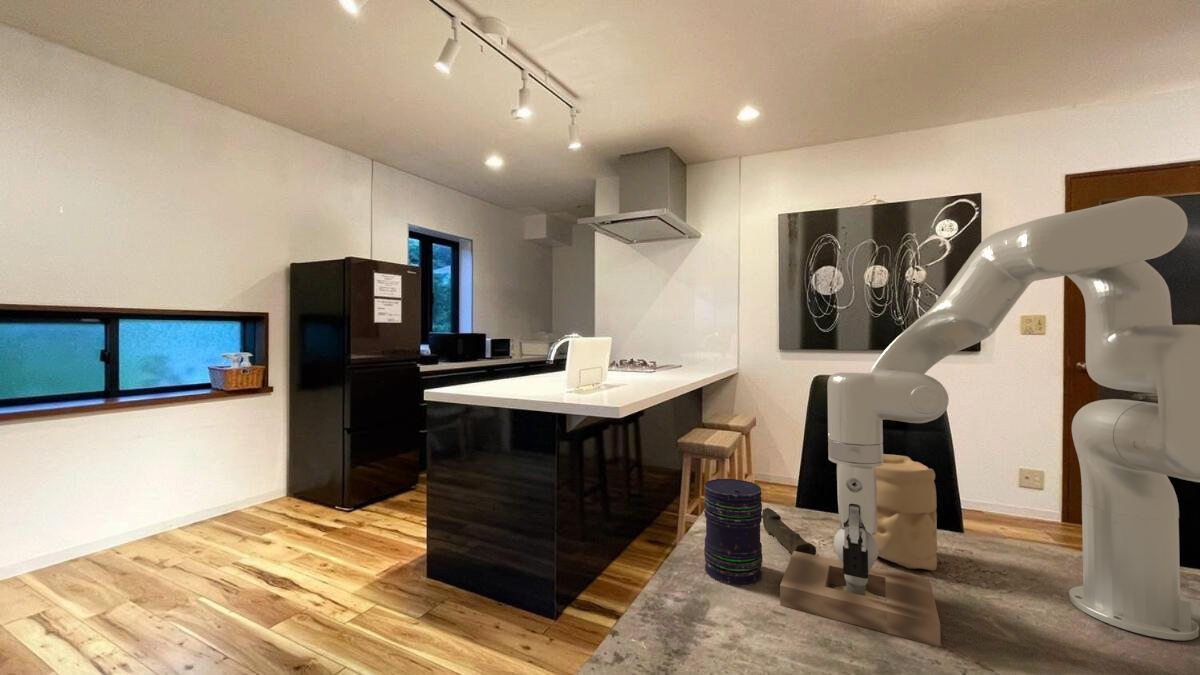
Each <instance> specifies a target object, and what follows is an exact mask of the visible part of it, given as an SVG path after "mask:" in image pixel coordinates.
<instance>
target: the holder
mask: <svg viewBox="0 0 1200 675" xmlns="http://www.w3.org/2000/svg"><path fill="white" fill-rule="evenodd" d="M830 585H834V586H836V587H830ZM877 595H878V596H877ZM879 596H880V597H881V596H882V597H885V600H884V599H881V598H879ZM779 597H780V598H779V599H780V600H779V601H780V602H779V604H780V606H783V607H785V608H791V609H793V610H797V611H802V612H805V613H809V614H813V615H817V616H821V617H824V618H827V619H828V618H829V619H833V620H835V621H839V622H843V623H847V624H852V625H855V626H859V627H863V628H867V629H870V630H873V631H877V632H881V633H884V634H885V633H886V634H889V635H893V636H897V637H900V638H905V639H908V640H912V641H914V642H919V643H924V644H927V645H931V646H935V647H939V648H941V646H942V645H941V644H942V643H941V642H942V641H941V622H940V617H939V613H938V609H937V605H936V601H935V596H934V592H933V588H932V584H931V579H930V578H928V577H924V576H923V577H922V576H917V575H912V574H909V573H908V574H907V573H905V572H904V573H903V572H898V571H895V570H888V569H885V568H884V569H883V568H878V567H874V566H872V567H871V569H870V571H869V574H868V582H867V584H866V592H865V596H863V595H858V594H854V593H850V592H847V586H846V580H845V577H844V572H843V566H842V563H841V561H840V560H839V559H837V558H835V559H834V558H831V557H825V556H820V555H817V554H816V555H812V554H807V553H802V552H797V551H793V553H792V554H791V557H790V559H789V561H788V564H787V567H786V570H785V572H784V574H783V577H782V580H781V582H780V584H779Z"/></svg>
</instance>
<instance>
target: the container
mask: <svg viewBox="0 0 1200 675" xmlns="http://www.w3.org/2000/svg"><path fill="white" fill-rule="evenodd" d="M875 470H876V483H877V533H876V534H875V535H872V533H870V534H871V535H872V536H873V538H874V539H875V541H876V543H877V545H878V557H880V558H882V559H883V560H886V561H889V562H891V563H894V564H897V565H899V566H902V567H904V568H907V569H909V570H914V569H915V570H916V569H923V570H927V571H932V572H934V571H936V570H937V568H938V557H937V552H938V551H937V550H938V539H937V537H938V535H937V534H938V532H937V530H938V529H937V523H938V522H937V518H938V514H937V488H936V483H935V480H936V473H935V471H934V469H933V468H929V467H928V466H926V465H924V464H923V463H921V462H919V461H914V460H912V459H911V457H909V456H907V455H900V454H898V455H897V454H888V453H887V454H886V453H883V465H882V466H879V467H875Z"/></svg>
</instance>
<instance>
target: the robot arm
mask: <svg viewBox="0 0 1200 675" xmlns="http://www.w3.org/2000/svg"><path fill="white" fill-rule="evenodd" d="M1188 225H1189V224H1188V218H1187V215H1186V212H1185V211H1184V210H1183V208H1182V207H1180V205H1178V204H1177V203H1176V202H1174V201H1173V200H1170V199H1168V198H1165V197H1162V196H1161V197H1160V196H1156V195H1154V196H1153V195H1143V196H1135V197H1131V198H1126V199H1123V200H1117V201H1115V202H1114V201H1113V202H1109V203H1105V204H1100V205H1096V206H1092V207H1088V208H1083V209H1079V210H1078V209H1077V210H1074V211H1069V212H1065V213H1059V214H1053V215H1049V216H1045V217H1042V218H1041V217H1040V218H1037V219H1033V220H1030V221H1027V222H1024V223H1021V224H1018V225H1015V226H1012V227H1011V226H1010V227H1009V228H1005V229H1003V230H999V231H997V232H995V233H992V234H990V235H989V236H987V237H986V238H984V240H982V241H981V242H980V243H979V244H978V245H977V247H976V248H975V249H974V250H973V252H972V253H971V254H970V255H969V257H968V259H967V260H966V261H965V262H964V263H963V265H962V266H961V268H960V269H959V271H957V273H956V275H955V276H954V277H953V279H952V280H951V281H950V283H949V284H948V286H947V287H946V288H945V290H944V291H943V292H942V294H941V295H940V297H939V298H938V299H937V300H936V301H935V303H934V304H933V305H932V306H931V308H930V309H928V310H927V311H926V312H925V313H924V314H922V315H921V316H920V317H918V318H917V319H916V320H915V321H913V323H912V324H911V325H910V326H908V327H907V328H906V329H905V330H904V331H902V332H901V333H900V334H899V335H898V336H897V337H896V338H895V339H894V340H892V342H891V343H889V345H888V346H887V347H886V348H885V349H884V350H883V352H882V353H881V354H880V355H879V357H878V359H876V361H875V362H874V364H873V365H872V367H871V368H870V369H869V370H868V372H865V373H864V372H838V373H837V372H836V373H833V374H831V375H829V377H828V380H827V387H826V388H827V438H828V439H827V442H828V444H827V445H828V446H827V450H828V451H827V453H828V460H829V461H830V462H831V463H834V464H836V482H837V483H836V485H837V486H836V487H837V488H836V489H837V505H838V506H837V508H838V516H839V517H838V520H839V527H840V529H843V530H845V537H844V546H843V572H844V574H846V575H850V576H854V577H859V578H864V579H867V578H868V550H866V531H867V533H872V535H875V534H876V533H877V483H876V470H875V467H879V466H882V465H883V454H884V444H883V443H884V434H883V433H884V431H883V429H884V428H883V420H884V421H885V420H890V421H896V422H897V421H898V422H903V423H909V424H925V423H928V422H929V423H930V422H931V421H935V420H938V418H940V417H941V416H943V414H944V413H945V412H946V410H947V409H948V406H949V401H950V400H949V394H948V391H947V388H946V387H945V386H944V385H943V384H942V383H941V382H940V381H939V380H937V379H936V378H934V377H932V376H931V375H927V374H926V373H927V372H928V371H929V370H930V369H931V368H933V367H934V366H935V365H936V364H938V363H939V362H940V361H941V360H943V359H945V358H947V357H949V356H950V355H953V354H956V353H957V352H959V351H961V350H965V349H966V348H970V347H972V346H974V345H976V344H979V343H980V342H982V341H984V340H986V339H988V338H989V337H990V336H992V335H993V334H994V333H995V331H997V329H998V328H999V326H1000V325H1001V323H1002V322H1003V321H1004V319H1005V318H1006V317H1007V315H1008V314H1009V312H1010V311H1011V310H1012V309H1013V307H1014V306H1015V305H1016V303H1017V301H1019V300H1020V297H1022V295H1023V294H1024V293H1025V292H1026V291H1027V289H1028V287H1030V285H1031V284H1032V283H1033V282H1037V281H1043V280H1049V279H1054V278H1060V277H1061V278H1062V277H1065V276H1066V277H1067V278H1068V279H1070V280H1071V281H1072V282H1073V283H1075V284H1074V285H1076V286H1077V287H1078V289H1079V291H1080V292H1081V294H1082V296H1083V300H1084V308H1085V367H1086V372H1087V373H1088V376H1089V378H1090V379H1092V381H1093V382H1095V383H1096V384H1098V385H1099V386H1102V387H1106V388H1109V389H1114V390H1120V391H1127V392H1135V393H1136V392H1137V393H1145V394H1146V393H1147V394H1154V395H1155V394H1157V402H1150V401H1149V402H1148V401H1141V400H1131V399H1117V398H1109V399H1100V400H1095V401H1092V402H1089V403H1087V404H1085V405H1084V406H1082V407H1081V408H1080V409H1079V410H1077V412H1076V413H1075V415H1074V416H1073V419H1072V422H1071V436H1072V440H1073V446H1074V448H1075V452H1076V454H1077V459H1078V463H1079V469H1080V480H1081V521H1082V522H1081V523H1082V526H1081V529H1082V532H1081V533H1082V536H1081V537H1082V576H1083V578H1082V583H1083V584H1082V585H1079V586H1074V587H1072V588H1071V589H1069V592H1068V593H1069V594H1068V595H1069V600H1070V602H1071V603H1072V604H1073V605H1074V606H1075V607H1076V608H1077V609H1078V610H1080V611H1081V612H1083V613H1085V614H1087V615H1088V616H1091V617H1092V618H1095V619H1097V620H1099V621H1101V622H1103V623H1106V624H1108V625H1110V626H1114V627H1116V628H1118V629H1119V628H1120V629H1122V630H1124V631H1125V630H1126V631H1129V632H1132V633H1135V634H1139V635H1143V636H1147V637H1151V638H1155V639H1156V638H1157V639H1163V640H1170V641H1171V640H1172V641H1191V640H1195V639H1197V638H1198V637H1199V636H1200V627H1199V625H1198V623H1197V622H1200V600H1198V599H1193V598H1187V597H1186V596H1184V595H1183V594H1182V593H1181V579H1180V578H1181V576H1180V571H1181V570H1180V525H1179V524H1180V523H1179V522H1180V521H1179V519H1180V509H1179V508H1180V506H1179V502H1178V497H1177V494H1176V491H1175V490H1176V489H1175V488H1174V485H1173V484H1172V483H1171V480H1170V479H1169V477H1170V478H1171V477H1172V478H1176V479H1177V478H1178V479H1180V480H1185V481H1190V482H1194V483H1200V325H1199V324H1173V318H1172V317H1173V316H1172V314H1173V313H1172V302H1171V293H1170V289H1169V286H1168V284H1167V283H1166V280H1165V278H1163V276H1162V275H1161V274H1160V273H1159V271H1157V270H1156V269H1155V268H1154V267H1153V266H1152V265H1151V264H1149V263H1148V262H1146V261H1147V260H1151V259H1152V260H1153V259H1156V258H1159V257H1161V256H1163V255H1165V254H1167V253H1169V252H1171V251H1172V250H1174V249H1175V248H1176V247H1177V246H1178V245H1179V244H1180V243H1181V242H1182V240H1183V239H1184V238H1185V236H1186V233H1187V230H1188ZM859 527H860V528H859ZM859 534H860V535H862V538H861V536H859ZM861 543H862V546H861Z"/></svg>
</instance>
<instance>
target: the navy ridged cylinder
mask: <svg viewBox="0 0 1200 675" xmlns="http://www.w3.org/2000/svg"><path fill="white" fill-rule="evenodd" d="M704 490H705V491H704V499H703V504H704V506H703V507H704V511H703V512H704V518H705V537H704V547H703V548H704V549H703V550H704V551H703V554H704V561H705V565H704V571H706V572H705V573H706V575H707V574H708V575H709V576H710V578H711V579H712V578H713V580H714V579H715V580H714V581H716V580H717V581H716V582H718V581H719V583H722V584H724V585H729V586H733V587H734V586H735V587H736V586H737V587H745V586H747V587H748V586H752V585H755V584H757V583H759V582H760V581H761V580H762V578H763V572H762V568H763V553H762V552H763V551H762V550H763V548H762V547H763V546H762V543H761V523H762V522H763V518H762V512H763V503H762V488H761V486H760V485H758V484H757V483H754V482H751V481H747V480H742V479H735V478H734V479H733V478H716V479H711V480H708V481H706V482H705V483H704ZM708 575H707V576H708ZM709 576H708V577H709Z"/></svg>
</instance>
